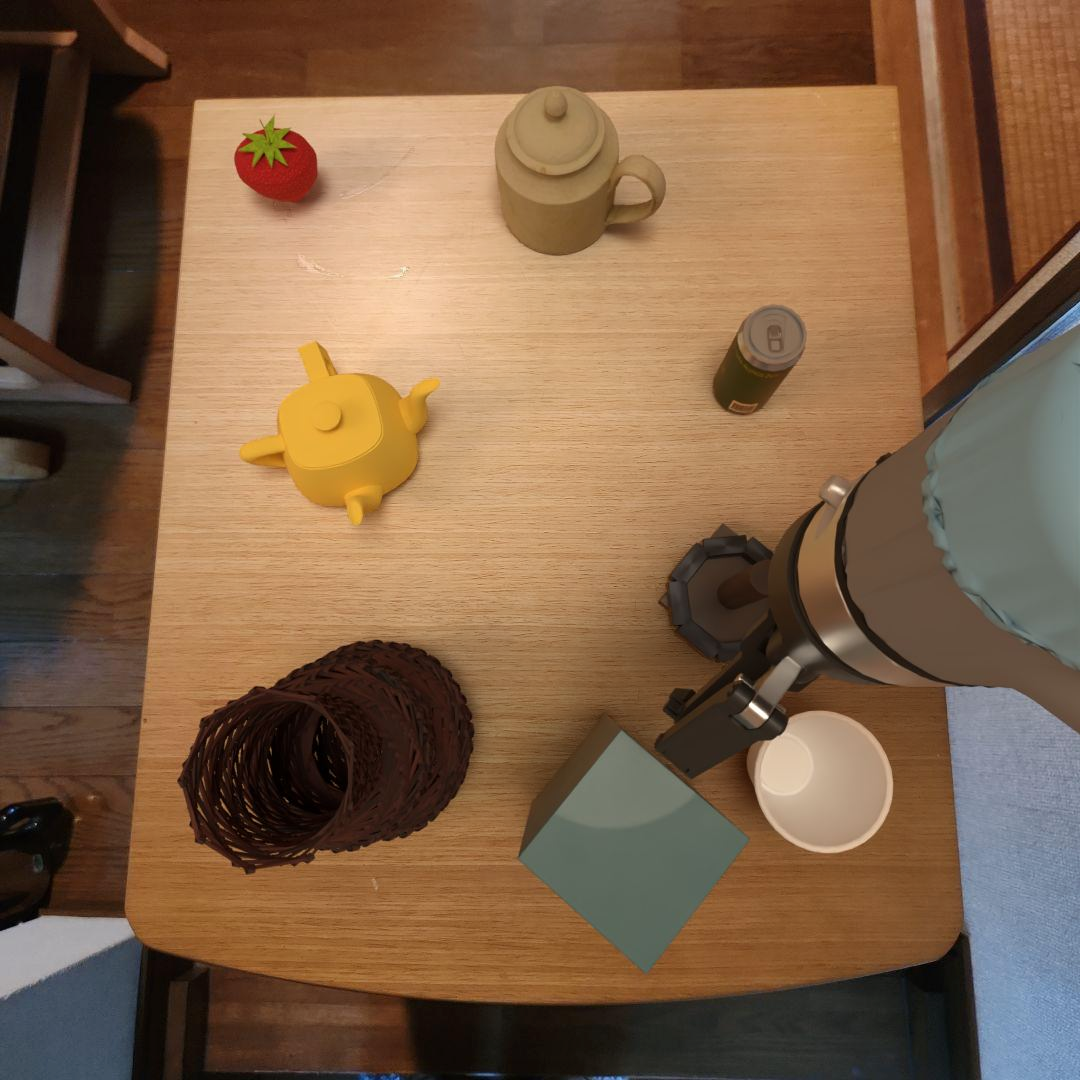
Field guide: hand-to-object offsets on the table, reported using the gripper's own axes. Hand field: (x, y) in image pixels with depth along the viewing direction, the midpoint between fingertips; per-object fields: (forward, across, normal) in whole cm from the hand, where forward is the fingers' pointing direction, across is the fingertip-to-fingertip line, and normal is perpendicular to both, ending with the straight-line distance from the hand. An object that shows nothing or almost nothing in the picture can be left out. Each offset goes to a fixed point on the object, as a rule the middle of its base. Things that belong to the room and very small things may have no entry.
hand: (756, 621), depth 48 cm
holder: (+20, -4, 0) cm, 21 cm away
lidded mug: (+20, -26, -35) cm, 48 cm away
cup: (+21, +4, +12) cm, 24 cm away
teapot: (+20, +6, -34) cm, 41 cm away
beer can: (+21, -20, -12) cm, 31 cm away
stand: (+20, +16, +2) cm, 26 cm away
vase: (+20, +24, -16) cm, 35 cm away
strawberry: (+20, -8, -58) cm, 61 cm away
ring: (+19, -4, 0) cm, 19 cm away
